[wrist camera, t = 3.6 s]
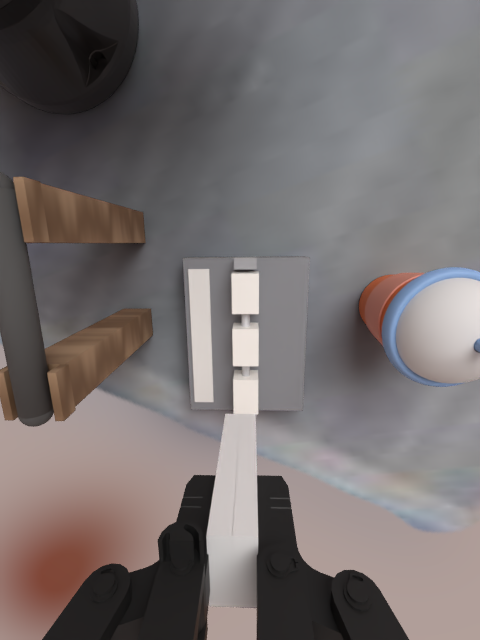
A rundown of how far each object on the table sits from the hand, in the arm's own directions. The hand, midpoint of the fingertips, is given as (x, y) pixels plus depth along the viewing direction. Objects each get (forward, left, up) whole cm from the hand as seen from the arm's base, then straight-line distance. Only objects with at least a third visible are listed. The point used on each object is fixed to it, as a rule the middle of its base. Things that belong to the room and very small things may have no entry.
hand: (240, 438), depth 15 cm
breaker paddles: (0, 0, -16) cm, 16 cm away
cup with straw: (-3, +15, -19) cm, 25 cm away
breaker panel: (0, 0, -19) cm, 19 cm away
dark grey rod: (-6, -12, -3) cm, 14 cm away
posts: (-6, -12, -19) cm, 23 cm away
